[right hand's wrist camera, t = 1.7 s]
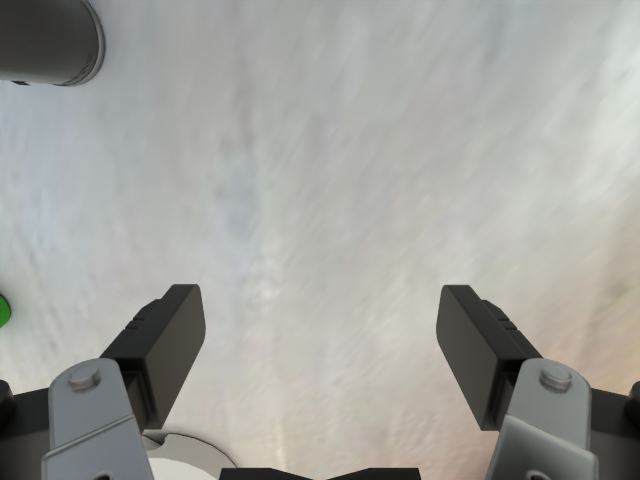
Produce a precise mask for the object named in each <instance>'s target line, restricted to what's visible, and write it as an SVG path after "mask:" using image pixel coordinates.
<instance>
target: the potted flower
mask: <svg viewBox="0 0 640 480" xmlns="http://www.w3.org/2000/svg"><path fill="white" fill-rule="evenodd" d="M9 316H10V310H9V306H8V305H7V303H6V301H5V300H4V299H3V298H2V297H1V296H0V328H1V327H2V326H3V325H4V324H5V323H6V322H7V321H8V319H9Z"/></svg>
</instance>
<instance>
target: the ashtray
mask: <svg viewBox="0 0 640 480" xmlns="http://www.w3.org/2000/svg"><path fill="white" fill-rule="evenodd" d="M141 437H142V440H143V443H144V446H145V450H146V453H147V456H148V459H149V463H150V466H151V469H152V472H153V475H154V479H155V480H219V477H220V473H221V469H222V468H236V466H235V465H234V464H233V463H232V462H231V461H230V460H229V458H228V457H227V456H226V455H224V454H223V453H221V452H220V451H219V450H217V449H216V448H214V447H213V446H211V445H209V444H206V443H204V442H202V441H199V440H197V439H195V438H190V437H186V436H181V435H177V434H168V435H167V437H165V443H164V444H163V445H160V444H158V443H156V442H154V441H152V440H150V439H148V438H147V437H145V436H141Z"/></svg>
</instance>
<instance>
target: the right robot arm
mask: <svg viewBox="0 0 640 480" xmlns="http://www.w3.org/2000/svg"><path fill="white" fill-rule="evenodd" d="M104 47H105V46H104V36H103V31H102V28H101V25H100V22H99V20H98V18H97V16H96V14H95V12H94V10H93V9H92V7H91V6H90V5H89V3H88V2H87V1H86V0H0V80H8V81H12V82H14V83H16V84H18V85H29V84H27V83H24V82H33V83H45V84H53V85H58V86H77V85H81V84H83V83H85V82H87V81H89V80H90V79H91V78H93V77H94V76H95V74H96V73H97V72H98V70H99V68H100V66H101V64H102V61H103V57H104ZM205 331H206V326H205V318H204V311H203V304H202V297H201V291H200V287H199V286H198V285H197V284H174V285H172V286H171V287H170V289H169V290H168V291H167V292H166V294H165V295H164V296H163V297H162V298H161V299H156V300H154V301H152V302H151V303H149V304H148V305H146V306H144V307H143V308H142V309H141V310H140V311H139V312H138V313H137V314H136V315H135V317H134V318H133V321H130V322H129V324H128V325H127V326H126V327H125V330H122V332H121V333H120V334H119V335H118V336H117V337H116V338H115V340H114V341H113V342H112V343H111V344H110V345H109V347H108V348H107V349H106V350H105V351H104V352H103V353H102V355H101V356H100V357H99V358H96V359H91V360H87V361H84V362H81V363H78V364H76V365H74V366H72V367H70V368H68V369H67V370H65V371H64V372H62V373H61V374H60V375H59V376H57V377H56V378H55V379H54V381H53V382H52V383H51V385H50V387H49V388H44V389H40V390H35V391H31V392H26V393H21V394H17V395H13V394H12V391H11V389H10V387H9V385H8V383H7V382H6V381H4V380H0V480H155V479H154V475H153V472H152V469H151V466H150V463H149V459H148V456H147V453H146V450H145V446H144V443H143V440H142V437H141V435H142V433H143V431H144V429H162V427H163V425H164V423H165V421H166V419H167V416H168V414H169V412H170V410H171V408H172V406H173V404H174V402H175V400H176V398H177V396H178V394H179V392H180V390H181V388H182V386H183V384H184V381H185V379H186V377H187V375H188V373H189V371H190V369H191V367H192V365H193V363H194V361H195V359H196V357H197V355H198V353H199V351H200V349H201V347H202V344H203V342H204V338H205ZM436 334H437V340H438V343H439V346H440V348H441V350H442V352H443V354H444V356H445V358H446V360H447V362H448V364H449V366H450V368H451V370H452V372H453V374H454V376H455V378H456V380H457V382H458V384H459V386H460V388H461V390H462V392H463V394H464V396H465V398H466V400H467V403H468V405H469V407H470V409H471V411H472V413H473V415H474V417H475V419H476V421H477V423H478V425H479V427H480V429H481V431H499V433H500V434H499V437H498V440H497V443H496V446H495V450H494V453H493V456H492V459H491V462H490V466H489V469H488V472H487V475H486V479H485V480H640V381H638V382H636V383H635V384H634V385H633V387H632V389H631V391H630V393H629V396H625V395H621V394H616V393H612V392H607V391H603V390H598V389H594V388H591V387H590V385H589V383H588V382H587V381H586V379H585V378H584V377H583V376H581V375H580V374H579V373H578V372H576V371H575V370H573V369H572V368H570V367H568V366H566V365H564V364H562V363H559V362H556V361H553V360H549V359H544V358H543V357H542V356H541V355H540V354H539V352H538V351H537V350H536V349H535V348H534V347H533V346H532V344H531V343H530V342H529V341H528V340H527V339H526V338H525V336H524V335H523V334H522V333H521V332H520V331H519V330H517V327H516V326H515V325H514V324H513V323H512V322H511V321H510V319H509V318H508V317H507V316H506V315H505V314H504V312H503V311H502V310H501V309H500V308H498V307H497V306H495V305H494V304H492V303H490V302H489V301H487V300H481V299H480V298H479V296H478V295H477V294H476V293H475V292H474V290H473V289H472V288H471V287H470V286H469V285H444V286H443V288H442V291H441V297H440V303H439V310H438V317H437V324H436ZM219 480H313V479H309V478H305V477H302V476H298V475H294V474H291V473H287V472H283V471H280V470H276V469H272V468H222V469H221V473H220V477H219ZM327 480H421V477H420V473H419V469H418V468H368V469H364V470H360V471H357V472H353V473H349V474H346V475H342V476H338V477H335V478H331V479H327Z"/></svg>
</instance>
